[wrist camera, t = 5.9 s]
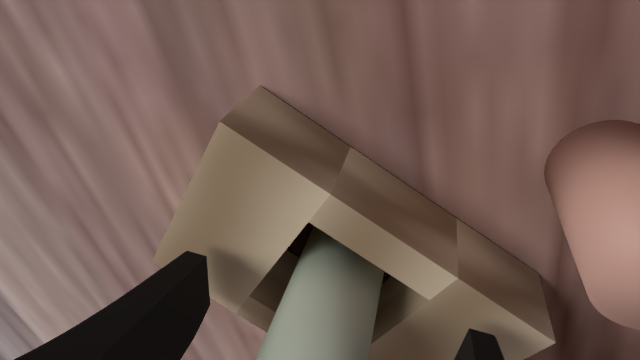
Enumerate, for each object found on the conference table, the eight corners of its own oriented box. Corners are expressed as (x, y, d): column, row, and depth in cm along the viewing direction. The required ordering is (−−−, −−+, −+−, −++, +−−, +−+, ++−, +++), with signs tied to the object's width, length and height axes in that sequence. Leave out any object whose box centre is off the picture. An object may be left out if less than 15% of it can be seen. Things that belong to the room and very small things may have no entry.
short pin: (692, 161, 10) (814, 283, 7) (596, 226, 11) (657, 351, 8) (608, 99, 10) (691, 193, 6) (521, 173, 11) (553, 281, 8)
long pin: (397, 222, 13) (351, 499, 7) (378, 279, 14) (325, 548, 8) (318, 200, 13) (205, 444, 7) (307, 257, 15) (205, 500, 9)
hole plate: (538, 273, 13) (555, 342, 10) (414, 355, 16) (409, 419, 14) (259, 85, 12) (219, 121, 10) (191, 215, 15) (151, 261, 13)
